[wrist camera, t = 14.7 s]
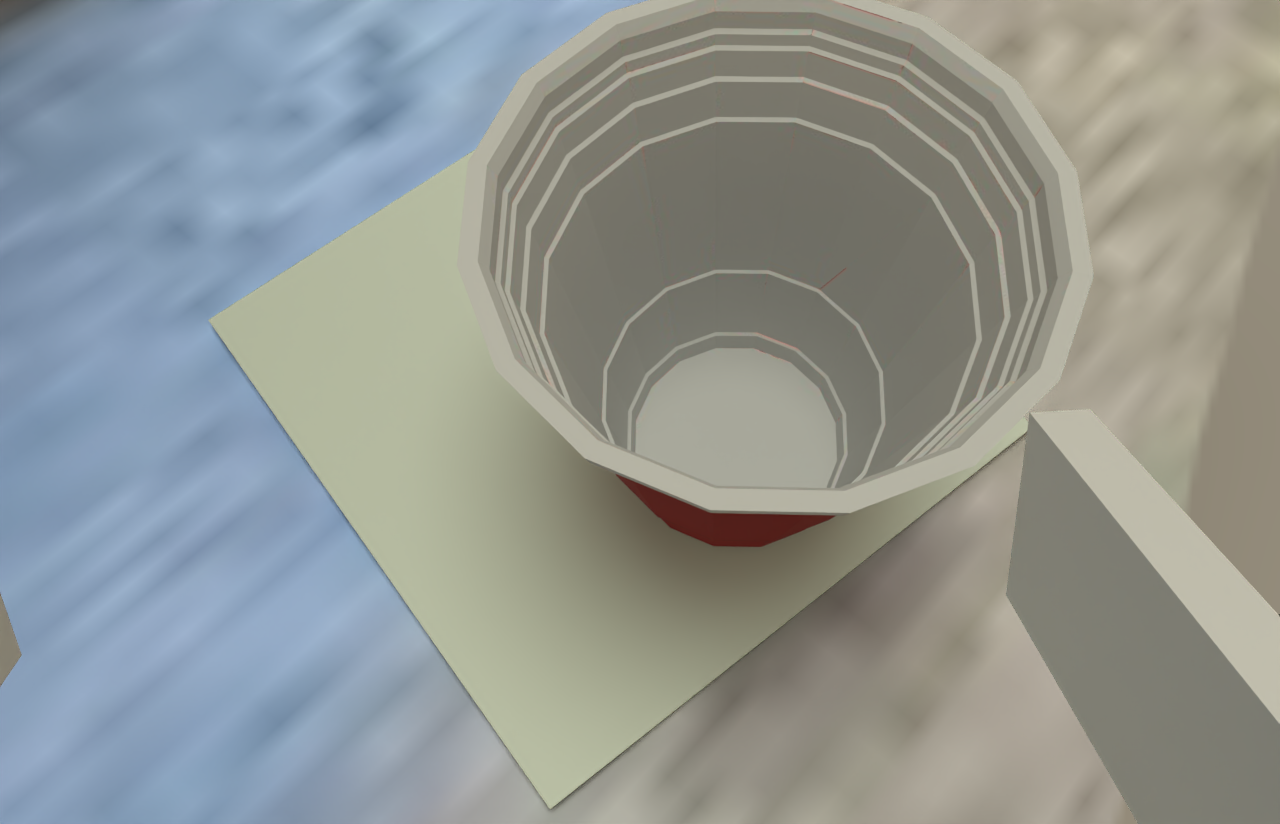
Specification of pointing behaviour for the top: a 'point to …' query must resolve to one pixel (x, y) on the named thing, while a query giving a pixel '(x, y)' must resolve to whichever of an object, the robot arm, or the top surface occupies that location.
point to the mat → (514, 502)
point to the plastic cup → (773, 256)
